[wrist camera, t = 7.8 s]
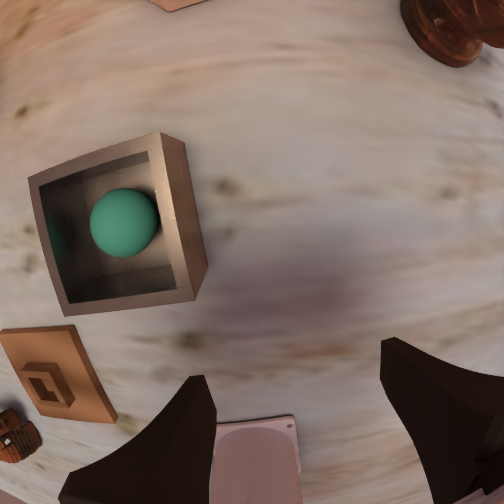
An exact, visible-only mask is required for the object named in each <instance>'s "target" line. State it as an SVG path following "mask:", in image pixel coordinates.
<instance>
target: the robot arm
mask: <svg viewBox="0 0 504 504" xmlns="http://www.w3.org/2000/svg"><path fill="white" fill-rule="evenodd" d="M380 380H381V383H382V385H383V388H384V390H385V393H386V395H387V397H388V399H389V401H390V403H391V404H392V406H393V408H394V409H395V411H396V413H397V414H398V416H399V418H400V419H401V421H402V423H403V424H404V426H405V428H406V429H407V431H408V433H409V435H410V437H411V439H412V440H413V443H414V445H415V447H416V450H417V452H418V455H419V457H420V460H421V463H422V466H423V468H424V471H425V474H426V477H427V480H428V484H429V487H430V490H431V494H432V498H433V502H434V504H504V377H501V376H493V375H488V374H483V373H478V372H474V371H470V370H467V369H464V368H460V367H457V366H455V365H452V364H450V363H447V362H445V361H442V360H440V359H438V358H436V357H433V356H431V355H429V354H427V353H425V352H423V351H421V350H419V349H417V348H415V347H414V346H412V345H410V344H408V343H406V342H404V341H402V340H400V339H398V338H396V337H392V338H389V339H385V340H382V341H381V366H380ZM288 424H291V425H288ZM213 456H214V458H215V459H214V470H213V481H212V492H211V503H210V504H303V502H302V495H301V489H300V482H299V476H298V474H299V473H300V472H301V463H300V456H299V448H298V441H297V433H296V426H295V419H294V417H293V416H285V417H278V418H272V419H265V420H257V421H249V422H240V423H229V424H217V410H216V407H215V405H214V402H213V399H212V396H211V394H210V391H209V388H208V385H207V382H206V379H205V376H204V375H197V376H189V377H188V379H187V380H186V381H185V382H184V384H183V385H182V386H181V388H180V389H179V390H178V391H177V393H176V394H175V395H174V397H173V398H172V399H171V400H170V402H169V403H168V404H167V405H166V406H165V408H164V409H163V410H162V411H161V412H160V413H159V414H158V415H157V416H156V417H155V418H154V420H153V421H152V422H151V423H150V424H149V425H148V426H147V427H146V428H144V429H143V430H142V431H141V432H140V433H139V434H138V435H136V436H135V437H134V438H133V439H131V440H130V441H129V442H127V443H126V444H124V445H123V446H122V447H120V448H119V449H117V450H116V451H114V452H113V453H111V454H109V455H108V456H106V457H104V458H102V459H100V460H98V461H96V462H94V463H92V464H90V465H88V466H85V467H83V468H81V469H78V470H76V471H73V472H70V473H69V475H68V477H67V479H66V481H65V483H64V485H63V488H62V490H61V492H60V494H59V496H58V500H59V502H60V504H209V480H210V471H211V464H212V458H213Z"/></svg>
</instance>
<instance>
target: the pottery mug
mask: <svg viewBox="0 0 504 504" xmlns="http://www.w3.org/2000/svg"><path fill="white" fill-rule="evenodd" d="M6 438H7V439H9V440H10V441H11V442H10V443H9V444H8V445H6V444H5V443H4V441H5V440H6ZM39 447H41V440H40V438H39V435H38V433H37V431H36V429H35V427H34V425H33V423H32V422H29V423H28V424H27V425H24V426H23V427H22V420H21V416H20V415H19V414H18V413H17V412H16V411H14V410H13V409H11V408H10V409H8V410H5V411H3V412H1V413H0V460H2V461H4V462H8V463H18V462H19V461H20V460H24V459H25V458H26V457H28V456H29V455H31V454H33V453H35V451H36V450H37V449H38V448H39Z"/></svg>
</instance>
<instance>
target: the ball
mask: <svg viewBox="0 0 504 504" xmlns="http://www.w3.org/2000/svg"><path fill="white" fill-rule="evenodd" d="M156 228H157V216H156V212H155V209H154V206H153V205H152V203H151V201H150V200H149V199H148V198H147V197H146V196H145V195H144V194H142V193H141V192H139V191H137V190H135V189H131V188H117V189H114V190H111V191H109V192H107V193H106V194H104V195H103V196H102V197H101V198H100V199H99V200H98V201H97V203H96V204H95V206H94V208H93V210H92V213H91V217H90V230H91V234H92V237H93V239H94V241H95V243H96V244H97V245H98V247H99V248H100V249H101V250H103V251H104V252H105V253H107V254H109V255H111V256H114V257H119V258H126V257H132V256H135V255H137V254H139V253H140V252H142V251H143V250H145V249H146V248H147V247H148V246H149V244H150V243H151V241H152V240H153V238H154V235H155V232H156Z"/></svg>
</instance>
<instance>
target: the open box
mask: <svg viewBox="0 0 504 504" xmlns="http://www.w3.org/2000/svg"><path fill="white" fill-rule="evenodd" d="M28 183H29V189H30V195H31V200H32V205H33V210H34V215H35V220H36V224H37V229H38V233H39V237H40V241H41V245H42V249H43V253H44V256H45V260H46V263H47V267H48V270H49V273H50V277H51V280H52V283H53V286H54V289H55V292H56V295H57V298H58V301H59V304H60V306H61V309H62V312H63V314H64V317H65V316H75V315H85V314H94V313H103V312H111V311H120V310H128V309H136V308H144V307H151V306H159V305H166V304H174V303H181V302H188V301H195V299H196V296H197V294H198V291H199V289H200V286H201V284H202V281H203V279H204V276H205V274H206V271H207V269H208V262H207V257H206V253H205V248H204V243H203V239H202V234H201V229H200V224H199V219H198V214H197V209H196V204H195V199H194V194H193V189H192V183H191V178H190V172H189V167H188V161H187V156H186V150H185V144H184V142H181V141H179V140H177V139H175V138H173V137H170V136H168V135H166V134H164V133H161V132H157V133H153V134H149V135H146V136H142V137H139V138H135V139H132V140H128V141H125V142H122V143H119V144H115V145H112V146H109V147H106V148H103V149H100V150H97V151H94V152H91V153H88V154H86V155H83V156H80V157H77V158H75V159H72V160H69V161H67V162H64V163H61V164H59V165H56V166H54V167H51V168H49V169H46V170H44V171H42V172H39V173H37V174H35V175H32V176H30V177H28ZM117 188H131V189H135V190H137V191H139V192H141V193H142V194H144V195H145V196H146V197H147V198H148V199H149V200H150V201H151V203H152V205H153V206H154V209H155V212H156V216H157V228H156V232H155V235H154V238H153V240H152V241H151V243H150V244H149V246H148V247H147V248H146V249H145V250H143V251H142V252H140V253H139V254H137V255H135V256H132V257H126V258H119V257H114V256H111V255H109V254H107V253H105V252H104V251H103V250H101V249H100V248H99V247H98V245H97V244H96V243H95V241H94V239H93V237H92V234H91V230H90V217H91V213H92V210H93V208H94V206H95V204H96V203H97V201H98V200H99V199H100V198H101V197H102V196H103V195H104V194H106V193H107V192H109V191H111V190H114V189H117Z"/></svg>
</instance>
